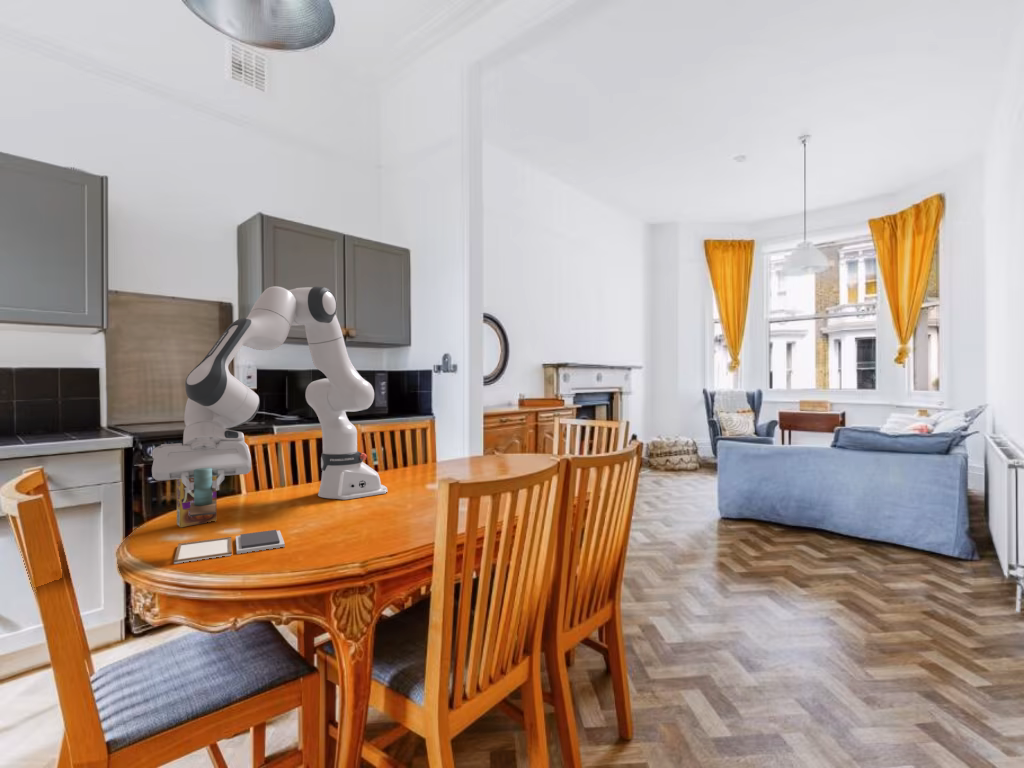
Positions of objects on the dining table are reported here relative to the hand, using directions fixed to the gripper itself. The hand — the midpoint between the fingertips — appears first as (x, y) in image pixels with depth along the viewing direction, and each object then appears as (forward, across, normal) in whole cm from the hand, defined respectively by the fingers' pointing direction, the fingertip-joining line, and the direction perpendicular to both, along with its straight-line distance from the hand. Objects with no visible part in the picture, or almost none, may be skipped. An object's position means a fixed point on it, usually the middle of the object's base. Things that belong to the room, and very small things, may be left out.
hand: (203, 490), depth 122 cm
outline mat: (+10, 0, +11) cm, 14 cm away
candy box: (-10, -2, +30) cm, 31 cm away
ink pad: (+10, +12, +10) cm, 18 cm away
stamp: (+3, 0, +4) cm, 5 cm away
